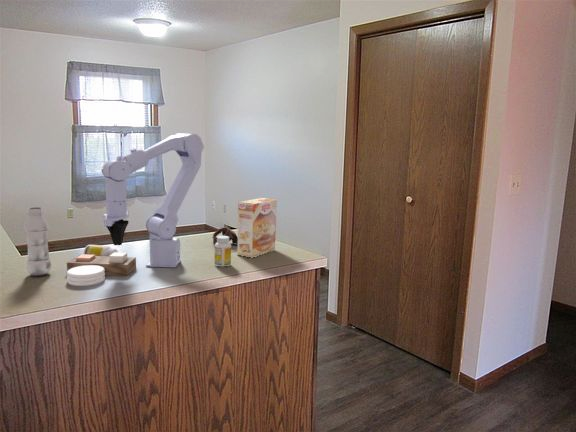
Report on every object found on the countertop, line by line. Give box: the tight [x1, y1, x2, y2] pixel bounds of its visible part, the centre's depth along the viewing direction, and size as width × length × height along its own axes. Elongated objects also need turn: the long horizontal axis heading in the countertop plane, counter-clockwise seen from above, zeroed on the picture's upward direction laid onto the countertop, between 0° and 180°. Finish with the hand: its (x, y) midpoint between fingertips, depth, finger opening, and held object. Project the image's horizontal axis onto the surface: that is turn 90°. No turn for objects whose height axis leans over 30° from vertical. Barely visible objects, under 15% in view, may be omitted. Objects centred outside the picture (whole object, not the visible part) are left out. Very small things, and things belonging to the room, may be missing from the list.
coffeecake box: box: [237, 197, 278, 259], centre depth 167 cm, size 15×7×20 cm, turn 148°
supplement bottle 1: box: [83, 244, 119, 257], centre depth 151 cm, size 5×5×10 cm
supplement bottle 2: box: [213, 235, 232, 267], centre depth 152 cm, size 5×5×10 cm
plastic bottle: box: [23, 206, 52, 276], centre depth 135 cm, size 6×7×20 cm
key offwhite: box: [109, 251, 128, 263], centre depth 142 cm, size 4×4×3 cm
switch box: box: [66, 255, 137, 277], centre depth 142 cm, size 18×8×4 cm, turn 90°
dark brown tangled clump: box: [212, 226, 238, 247], centre depth 178 cm, size 12×10×8 cm
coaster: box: [66, 265, 106, 287], centre depth 133 cm, size 10×10×4 cm
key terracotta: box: [75, 253, 95, 262], centre depth 142 cm, size 4×4×3 cm
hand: (117, 244), depth 141 cm, fingers closed
